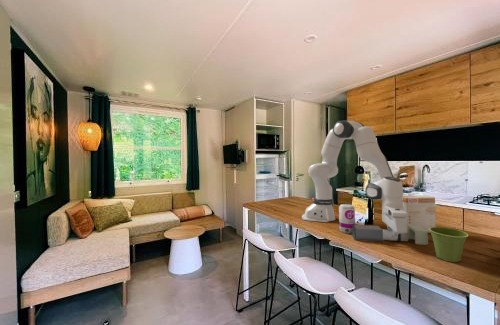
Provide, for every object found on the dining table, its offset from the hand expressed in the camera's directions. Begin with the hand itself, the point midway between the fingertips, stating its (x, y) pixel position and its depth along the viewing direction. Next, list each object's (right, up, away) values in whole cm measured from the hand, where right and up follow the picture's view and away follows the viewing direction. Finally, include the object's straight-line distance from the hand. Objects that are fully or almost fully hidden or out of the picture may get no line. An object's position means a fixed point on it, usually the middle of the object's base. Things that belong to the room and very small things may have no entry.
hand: (392, 236), depth 108 cm
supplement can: (-17, -2, +14) cm, 22 cm away
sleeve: (-12, -2, +3) cm, 12 cm away
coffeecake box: (+22, -1, +12) cm, 25 cm away
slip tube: (-4, -2, +1) cm, 5 cm away
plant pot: (+9, -2, -21) cm, 23 cm away
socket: (+11, -2, -3) cm, 11 cm away
